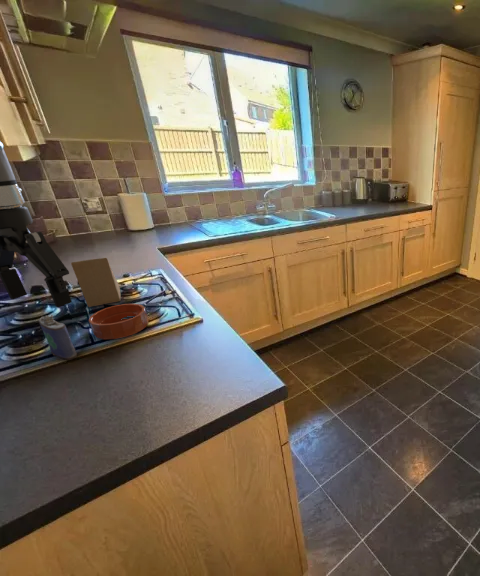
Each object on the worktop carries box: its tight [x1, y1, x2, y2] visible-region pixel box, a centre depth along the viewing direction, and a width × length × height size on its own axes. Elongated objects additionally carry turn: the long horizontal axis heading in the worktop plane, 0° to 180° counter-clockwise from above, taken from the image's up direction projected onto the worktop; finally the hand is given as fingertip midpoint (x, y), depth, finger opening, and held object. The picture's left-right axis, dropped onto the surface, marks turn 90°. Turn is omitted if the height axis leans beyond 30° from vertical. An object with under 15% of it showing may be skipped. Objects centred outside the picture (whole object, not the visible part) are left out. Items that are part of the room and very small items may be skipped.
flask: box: [38, 314, 78, 361], centre depth 79 cm, size 9×3×11 cm, turn 63°
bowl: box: [88, 303, 150, 341], centre depth 91 cm, size 12×12×5 cm
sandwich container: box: [70, 257, 121, 308], centre depth 107 cm, size 9×15×15 cm, turn 37°
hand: (41, 300), depth 75 cm, fingers open, 13 cm apart
